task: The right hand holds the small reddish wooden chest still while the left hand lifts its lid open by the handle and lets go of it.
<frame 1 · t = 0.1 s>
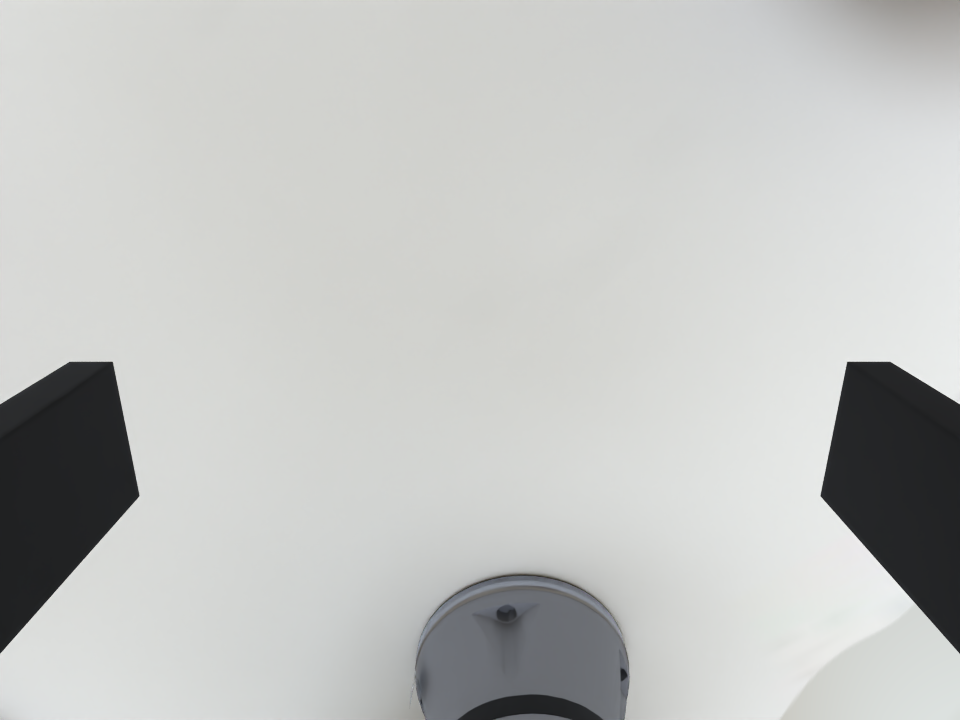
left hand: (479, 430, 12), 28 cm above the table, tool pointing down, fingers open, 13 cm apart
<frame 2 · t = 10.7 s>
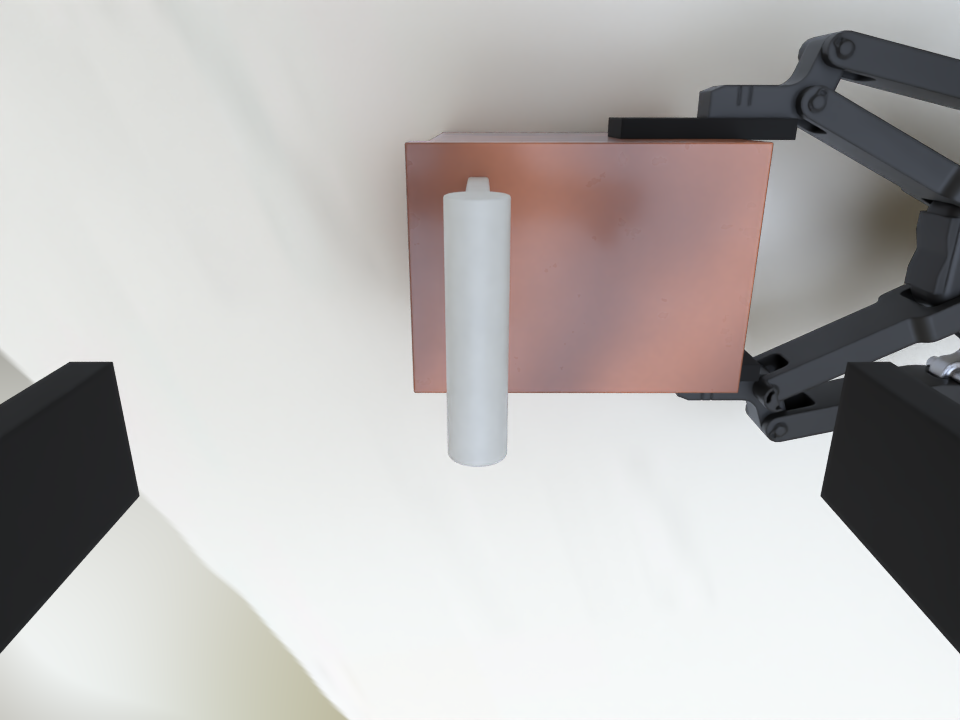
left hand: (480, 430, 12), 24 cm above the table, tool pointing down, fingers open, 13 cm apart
lid: (596, 299, 21), point 15 cm above the table, hinge at -0.1°
chest: (556, 224, 35), on the table, touching right hand
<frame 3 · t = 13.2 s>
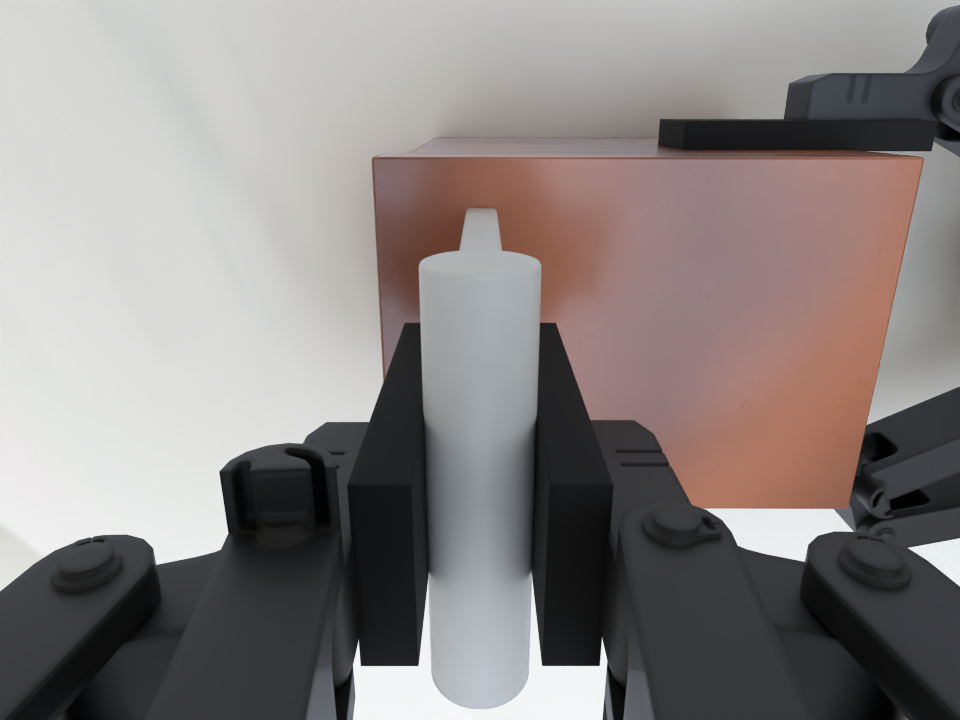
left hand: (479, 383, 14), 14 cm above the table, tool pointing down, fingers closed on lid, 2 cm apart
lid: (664, 401, 14), point 15 cm above the table, hinge at -0.1°, touching left hand
chest: (580, 255, 27), on the table, touching right hand
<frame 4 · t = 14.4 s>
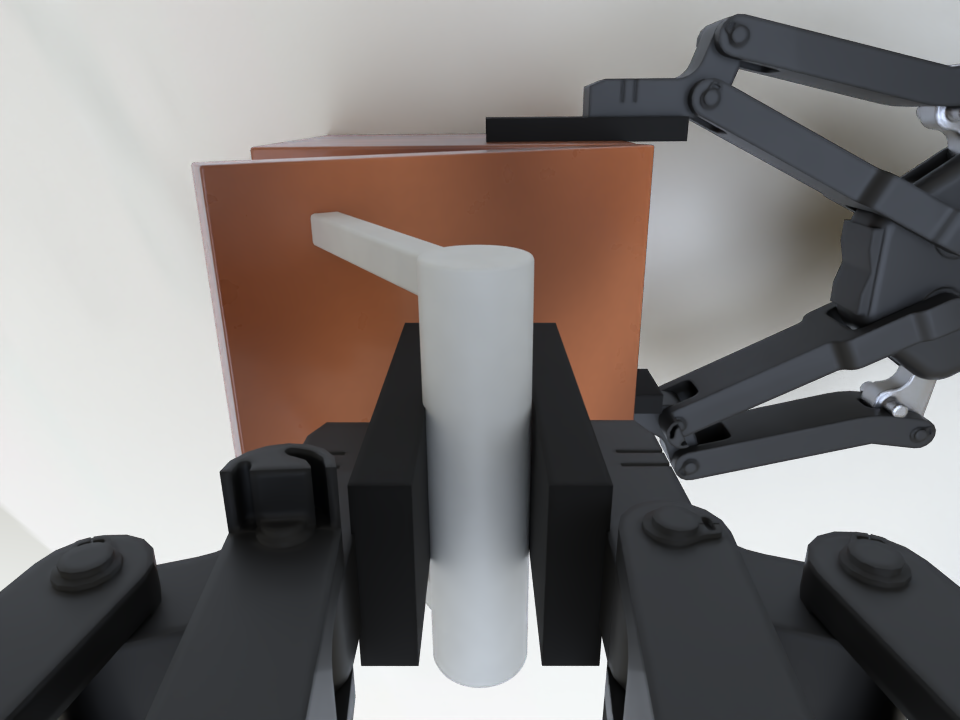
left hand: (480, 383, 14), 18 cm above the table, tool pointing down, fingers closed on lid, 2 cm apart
right hand: (487, 269, 25), fingers closed on chest, 9 cm apart
lid: (541, 368, 15), point 17 cm above the table, hinge at 31.3°, touching left hand
chest: (458, 235, 32), on the table, touching right hand
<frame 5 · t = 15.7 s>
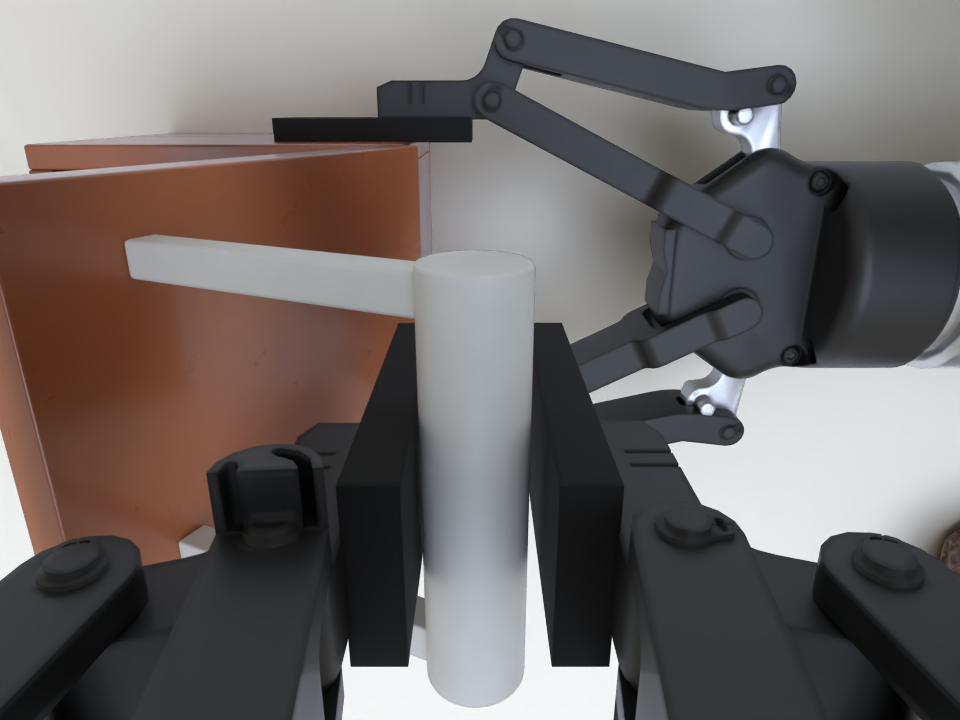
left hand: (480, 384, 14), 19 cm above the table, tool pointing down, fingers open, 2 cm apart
right hand: (297, 267, 25), fingers closed on chest, 9 cm apart
lid: (409, 375, 15), point 18 cm above the table, hinge at 64.5°
chest: (308, 234, 32), on the table, touching right hand
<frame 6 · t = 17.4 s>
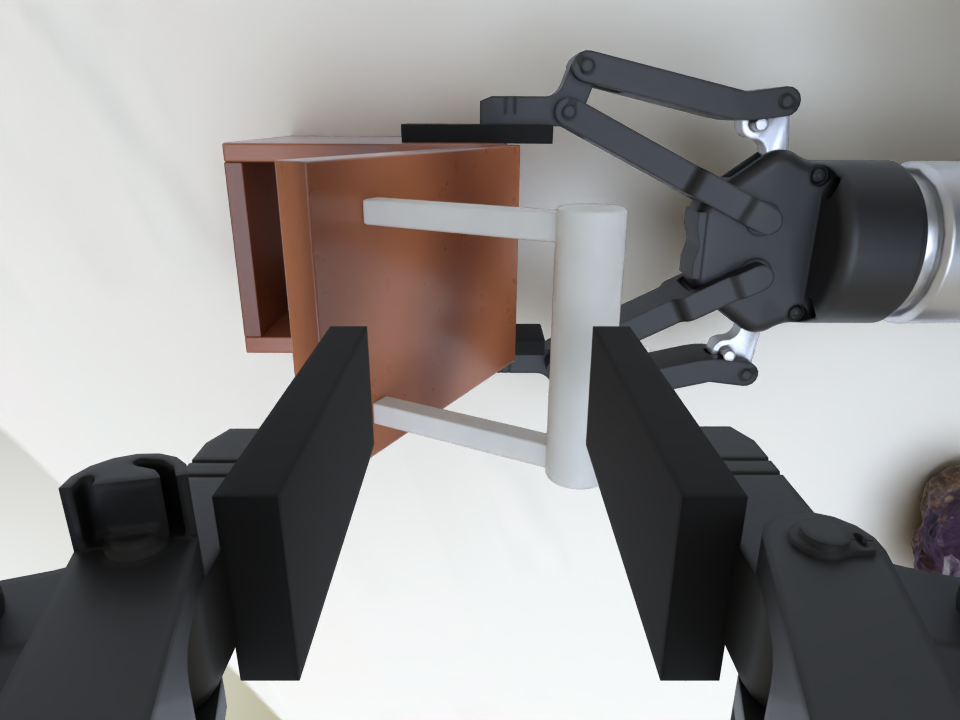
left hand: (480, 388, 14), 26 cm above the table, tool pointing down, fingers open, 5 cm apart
right hand: (408, 241, 32), fingers closed on chest, 9 cm apart
rock: (950, 532, 46), on the table
lid: (524, 301, 22), point 18 cm above the table, hinge at 61.3°
chest: (398, 219, 39), on the table, touching right hand
when the right hand's fingers open (7 cm above the table, at t = 19.9 s): chest stays where it is, on the table.
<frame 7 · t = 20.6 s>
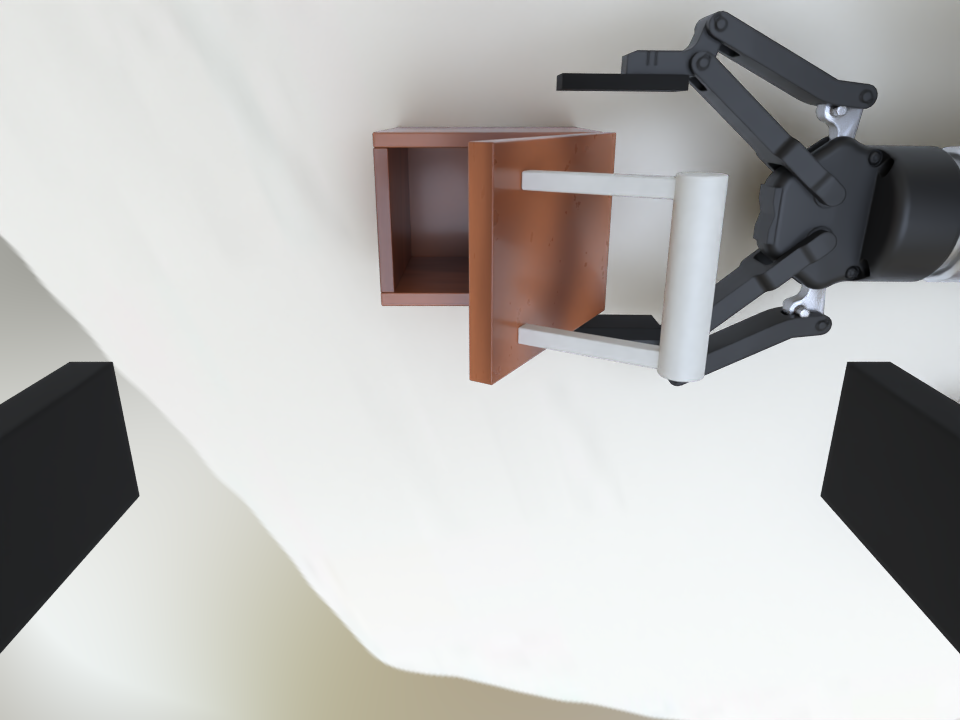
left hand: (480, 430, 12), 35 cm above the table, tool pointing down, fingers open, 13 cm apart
right hand: (552, 211, 38), fingers open, 13 cm apart
lid: (631, 251, 28), point 18 cm above the table, hinge at 59.6°
chest: (486, 198, 45), on the table
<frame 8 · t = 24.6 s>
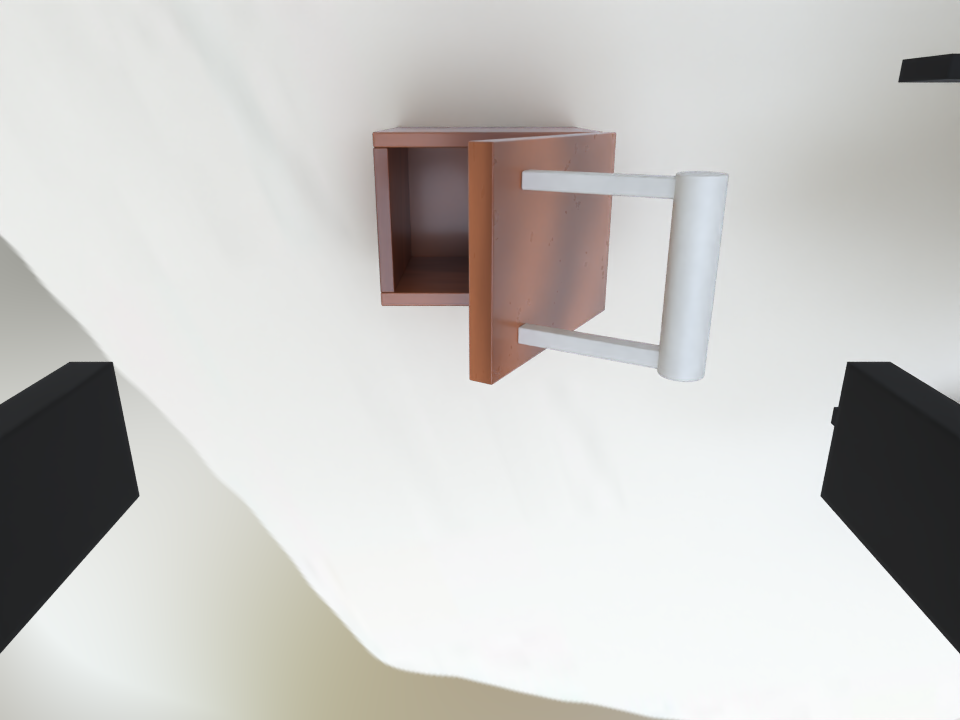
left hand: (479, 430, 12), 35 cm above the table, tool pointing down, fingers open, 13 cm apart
lid: (631, 251, 28), point 18 cm above the table, hinge at 59.6°
chest: (486, 198, 45), on the table
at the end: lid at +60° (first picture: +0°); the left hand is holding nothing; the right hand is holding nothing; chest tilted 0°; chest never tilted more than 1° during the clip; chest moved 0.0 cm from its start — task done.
